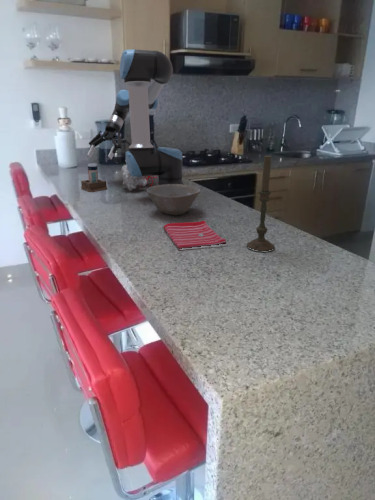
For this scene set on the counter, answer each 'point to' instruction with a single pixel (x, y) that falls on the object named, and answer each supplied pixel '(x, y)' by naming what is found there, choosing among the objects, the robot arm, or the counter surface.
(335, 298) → the counter surface
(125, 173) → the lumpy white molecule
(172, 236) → the dish towel
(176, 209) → the ceramic bowl
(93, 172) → the spice jar
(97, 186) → the walnut can stand
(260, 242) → the candlestick holder
